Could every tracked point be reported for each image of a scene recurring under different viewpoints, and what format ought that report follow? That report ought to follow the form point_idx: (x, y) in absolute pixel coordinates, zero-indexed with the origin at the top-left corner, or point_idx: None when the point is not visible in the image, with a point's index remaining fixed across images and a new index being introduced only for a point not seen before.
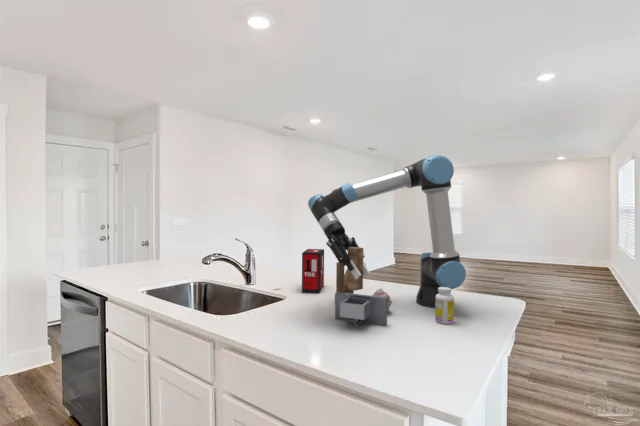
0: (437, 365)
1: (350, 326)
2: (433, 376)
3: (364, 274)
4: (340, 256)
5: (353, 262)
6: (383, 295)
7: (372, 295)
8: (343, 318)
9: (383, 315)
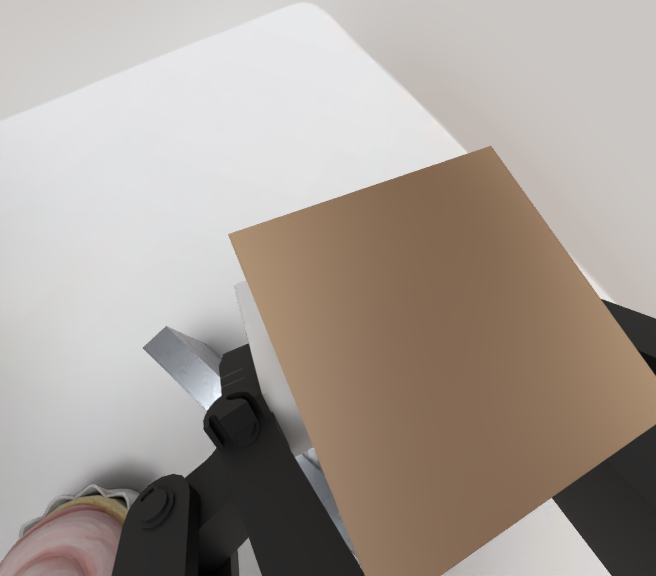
0: (242, 98)
1: None
2: (279, 73)
3: None
4: (628, 324)
5: None
6: (57, 536)
7: None
8: None
9: (201, 345)
